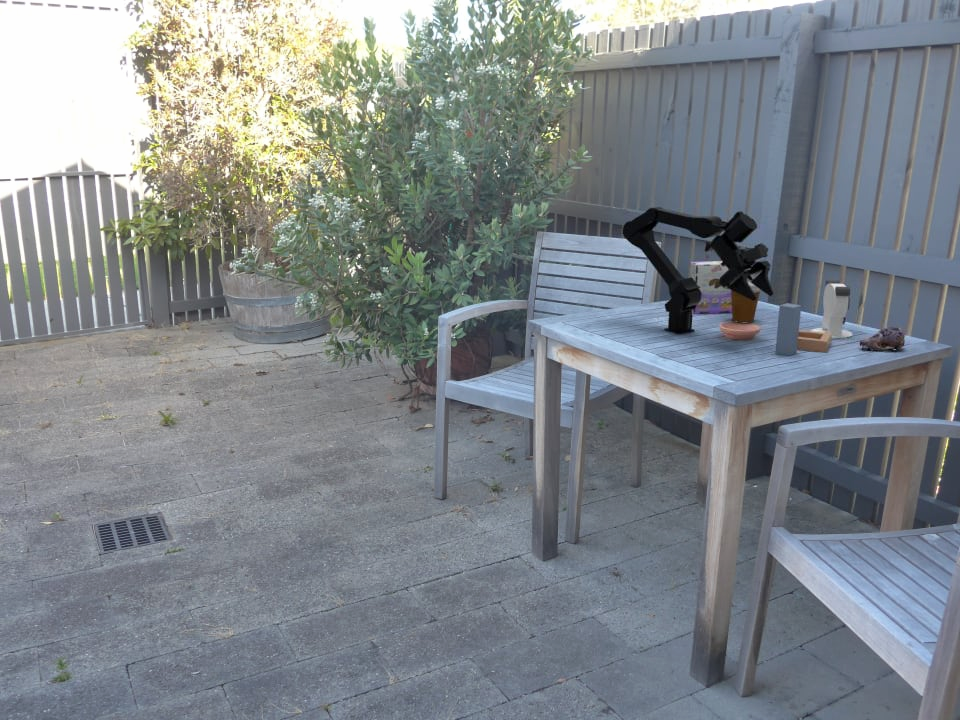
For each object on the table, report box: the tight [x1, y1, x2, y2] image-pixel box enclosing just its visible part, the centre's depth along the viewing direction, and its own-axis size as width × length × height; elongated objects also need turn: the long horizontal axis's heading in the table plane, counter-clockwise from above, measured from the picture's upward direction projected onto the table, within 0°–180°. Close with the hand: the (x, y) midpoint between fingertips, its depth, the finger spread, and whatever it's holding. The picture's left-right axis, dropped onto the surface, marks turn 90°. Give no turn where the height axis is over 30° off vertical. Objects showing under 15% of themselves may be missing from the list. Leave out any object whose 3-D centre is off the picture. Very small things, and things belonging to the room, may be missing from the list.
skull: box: [859, 326, 906, 351], centre depth 229 cm, size 12×8×6 cm, turn 90°
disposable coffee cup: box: [731, 280, 762, 324], centre depth 260 cm, size 10×10×12 cm
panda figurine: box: [810, 280, 853, 340], centre depth 243 cm, size 12×11×15 cm
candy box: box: [689, 260, 732, 315], centre depth 273 cm, size 14×6×16 cm, turn 94°
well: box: [797, 329, 833, 353], centre depth 232 cm, size 10×10×3 cm
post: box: [774, 302, 802, 356], centre depth 224 cm, size 4×4×13 cm
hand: (763, 297), depth 228 cm, fingers open, 9 cm apart
